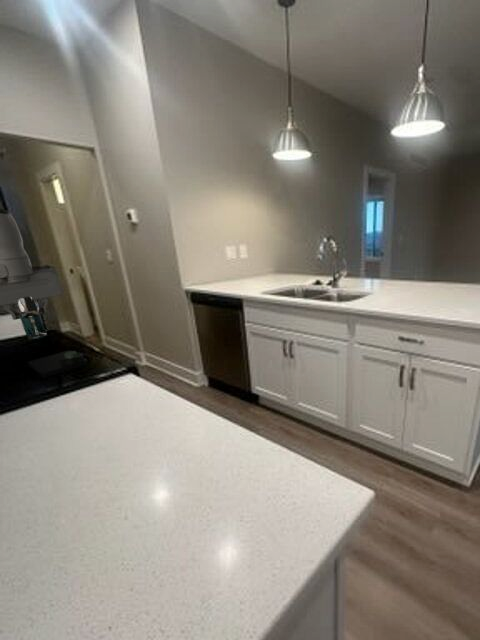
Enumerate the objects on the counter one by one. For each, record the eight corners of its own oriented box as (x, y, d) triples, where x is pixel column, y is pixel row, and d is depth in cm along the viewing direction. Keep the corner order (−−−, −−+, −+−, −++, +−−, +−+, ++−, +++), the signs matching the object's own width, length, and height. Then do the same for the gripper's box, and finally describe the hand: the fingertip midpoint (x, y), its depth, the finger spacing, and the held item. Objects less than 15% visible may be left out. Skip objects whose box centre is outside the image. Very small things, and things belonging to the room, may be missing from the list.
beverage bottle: (24, 342, 132) (5, 291, 124) (41, 337, 138) (23, 287, 130) (36, 343, 130) (17, 291, 122) (53, 338, 136) (35, 287, 128)
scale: (44, 378, 99) (40, 368, 98) (28, 365, 109) (25, 357, 108) (88, 364, 108) (85, 355, 106) (70, 353, 117) (68, 345, 116)
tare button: (67, 360, 104) (66, 355, 104) (64, 358, 106) (62, 353, 106) (79, 357, 106) (77, 352, 106) (75, 354, 108) (74, 350, 108)
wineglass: (52, 333, 106) (38, 295, 101) (32, 339, 102) (16, 299, 97) (43, 331, 109) (29, 294, 104) (23, 337, 104) (7, 298, 100)
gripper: (51, 263, 107) (65, 307, 112) (-36, 273, 92) (-15, 323, 98) (58, 264, 103) (72, 309, 108) (-32, 275, 89) (-11, 326, 94)
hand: (30, 316), depth 103 cm, fingers closed on wineglass, 5 cm apart
